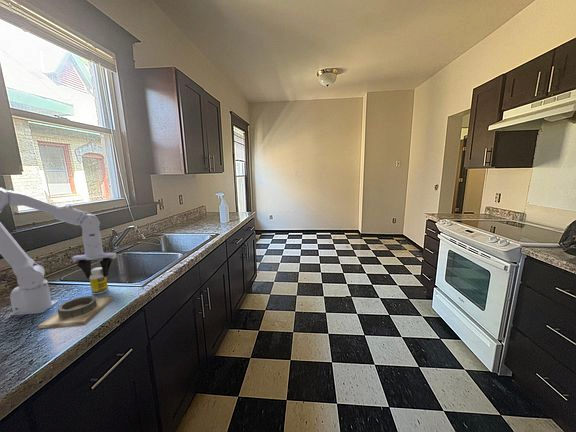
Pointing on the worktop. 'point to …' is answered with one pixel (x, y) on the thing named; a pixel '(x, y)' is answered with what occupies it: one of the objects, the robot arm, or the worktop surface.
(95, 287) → the supplement bottle
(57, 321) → the socket plate
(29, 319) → the worktop surface
